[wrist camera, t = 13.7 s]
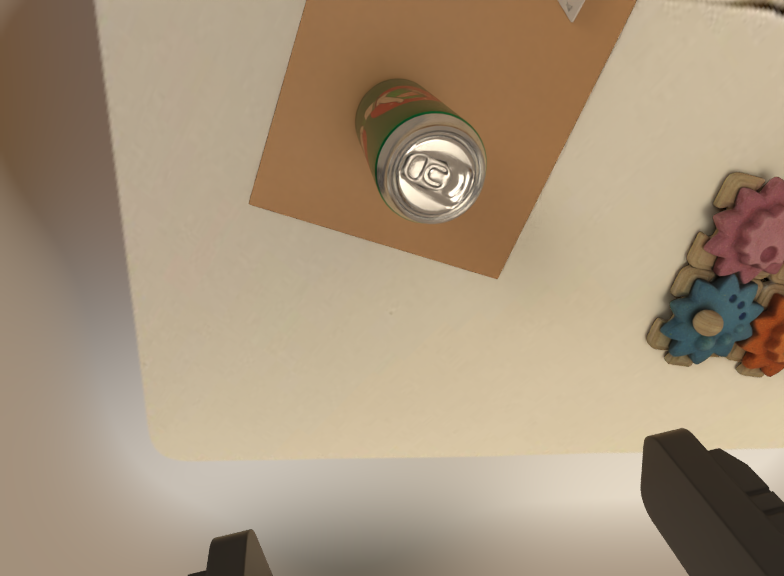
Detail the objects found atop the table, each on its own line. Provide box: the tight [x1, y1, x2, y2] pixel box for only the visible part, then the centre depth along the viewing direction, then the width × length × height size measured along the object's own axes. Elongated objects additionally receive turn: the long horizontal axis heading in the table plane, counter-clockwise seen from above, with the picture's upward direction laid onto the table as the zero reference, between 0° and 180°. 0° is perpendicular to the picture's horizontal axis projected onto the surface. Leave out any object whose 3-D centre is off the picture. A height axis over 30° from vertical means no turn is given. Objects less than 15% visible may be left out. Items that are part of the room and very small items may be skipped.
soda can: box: [355, 78, 487, 224], centre depth 29 cm, size 5×5×12 cm
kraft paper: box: [249, 0, 637, 279], centre depth 34 cm, size 18×22×1 cm
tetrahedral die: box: [558, 0, 585, 22], centre depth 32 cm, size 4×3×3 cm
